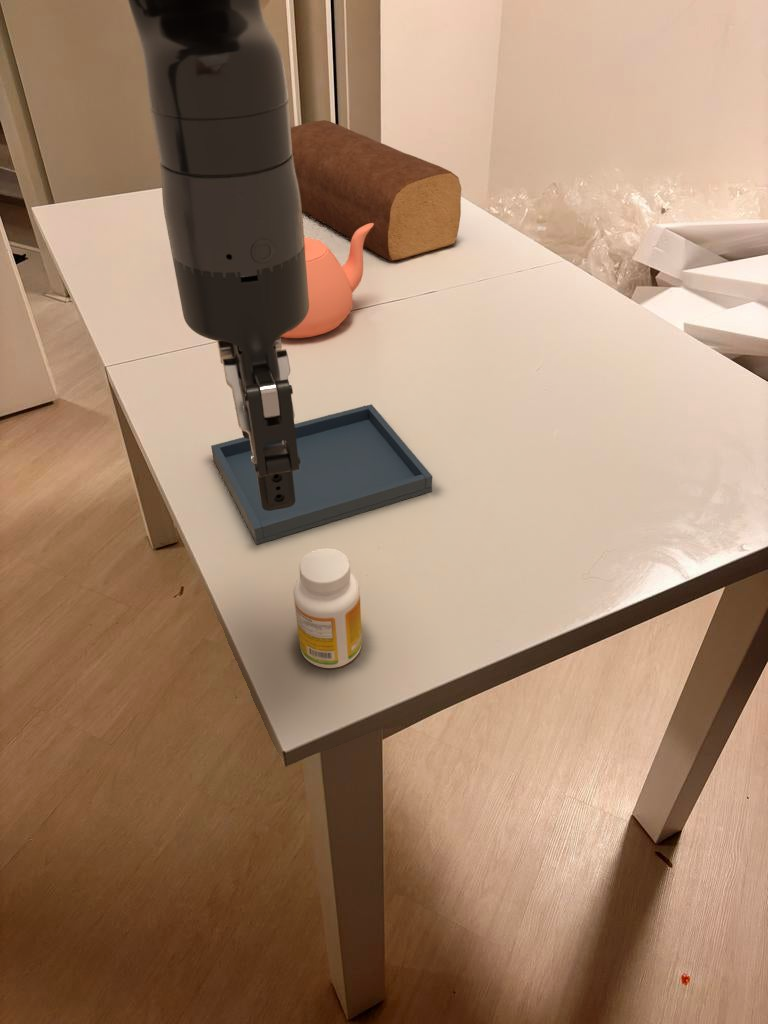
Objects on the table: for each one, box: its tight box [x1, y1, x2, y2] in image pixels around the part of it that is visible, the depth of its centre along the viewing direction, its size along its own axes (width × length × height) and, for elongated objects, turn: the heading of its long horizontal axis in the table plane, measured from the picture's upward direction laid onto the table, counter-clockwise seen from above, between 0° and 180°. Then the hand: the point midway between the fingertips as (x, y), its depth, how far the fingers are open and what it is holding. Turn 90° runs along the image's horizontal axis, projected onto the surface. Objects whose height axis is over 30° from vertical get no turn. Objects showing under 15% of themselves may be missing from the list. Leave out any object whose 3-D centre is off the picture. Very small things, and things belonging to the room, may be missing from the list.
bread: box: [291, 119, 462, 262], centre depth 142 cm, size 16×39×13 cm, turn 34°
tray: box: [210, 403, 433, 545], centre depth 87 cm, size 20×16×2 cm
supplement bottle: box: [293, 547, 363, 669], centre depth 66 cm, size 5×5×10 cm
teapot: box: [280, 223, 374, 339], centre depth 113 cm, size 22×16×12 cm
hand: (267, 468), depth 56 cm, fingers open, 8 cm apart
